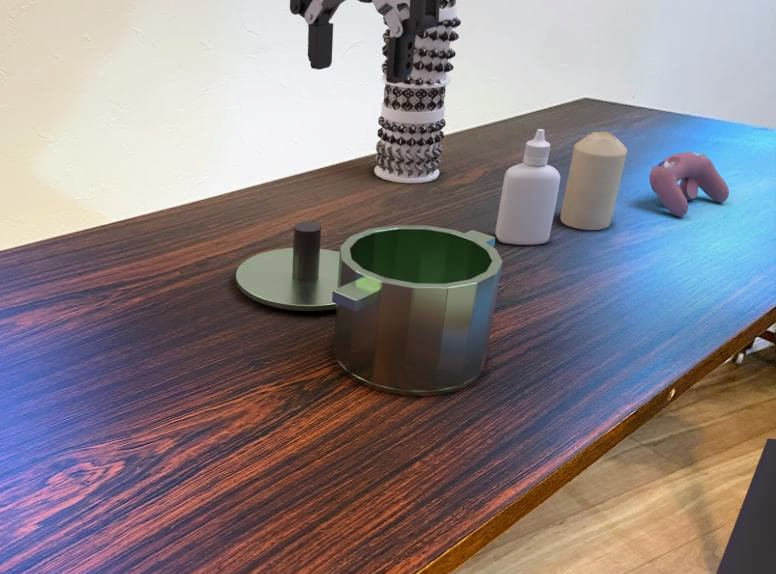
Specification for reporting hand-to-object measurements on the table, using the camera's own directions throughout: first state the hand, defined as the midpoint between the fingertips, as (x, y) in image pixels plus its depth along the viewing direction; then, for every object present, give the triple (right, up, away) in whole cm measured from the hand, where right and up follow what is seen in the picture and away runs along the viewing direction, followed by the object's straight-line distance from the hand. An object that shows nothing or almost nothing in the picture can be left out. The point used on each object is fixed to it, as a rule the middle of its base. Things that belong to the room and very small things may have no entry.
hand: (357, 74), depth 80 cm
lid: (-4, -17, +9) cm, 20 cm away
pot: (+4, -25, -3) cm, 26 cm away
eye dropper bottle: (+21, -11, +19) cm, 31 cm away
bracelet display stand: (+12, +1, +39) cm, 41 cm away
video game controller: (+43, -5, +29) cm, 52 cm away
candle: (+29, -8, +24) cm, 39 cm away
